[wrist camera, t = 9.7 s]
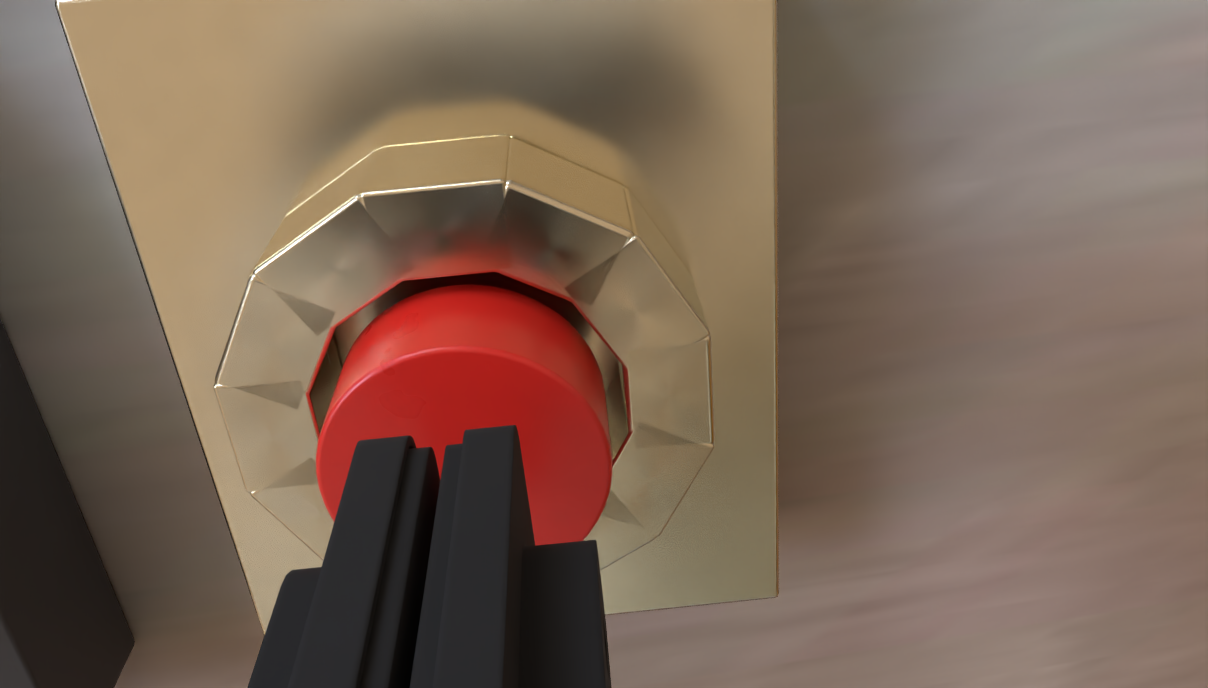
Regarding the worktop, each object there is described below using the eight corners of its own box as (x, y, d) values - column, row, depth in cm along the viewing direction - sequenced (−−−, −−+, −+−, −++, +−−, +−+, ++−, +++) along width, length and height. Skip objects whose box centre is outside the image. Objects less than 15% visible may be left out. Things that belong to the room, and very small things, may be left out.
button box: (756, 520, 20) (803, 677, 16) (294, 567, 20) (240, 735, 16) (747, -92, 14) (812, -54, 11) (115, -30, 14) (-22, 29, 11)
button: (615, 493, 15) (623, 575, 13) (368, 519, 15) (347, 603, 13) (593, 269, 13) (599, 332, 12) (313, 297, 13) (283, 364, 12)
